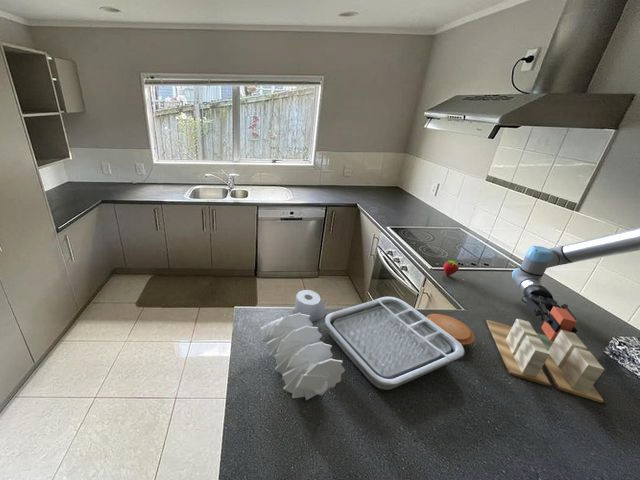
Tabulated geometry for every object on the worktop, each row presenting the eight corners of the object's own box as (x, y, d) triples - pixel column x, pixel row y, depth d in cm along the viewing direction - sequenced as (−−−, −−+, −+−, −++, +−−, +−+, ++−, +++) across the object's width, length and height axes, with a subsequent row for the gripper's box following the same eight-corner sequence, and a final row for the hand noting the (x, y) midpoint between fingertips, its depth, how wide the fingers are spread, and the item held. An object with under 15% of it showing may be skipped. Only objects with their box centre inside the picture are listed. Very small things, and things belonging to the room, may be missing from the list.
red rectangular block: (541, 327, 104) (553, 306, 100) (553, 330, 102) (566, 309, 98) (550, 340, 98) (563, 318, 94) (563, 344, 97) (577, 321, 93)
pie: (477, 357, 96) (483, 346, 94) (427, 344, 100) (430, 333, 98) (464, 327, 109) (468, 317, 107) (419, 316, 114) (423, 306, 112)
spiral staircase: (291, 349, 101) (331, 413, 79) (250, 343, 93) (281, 413, 71) (314, 307, 98) (362, 362, 76) (273, 297, 90) (313, 355, 68)
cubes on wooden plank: (523, 331, 108) (535, 308, 104) (557, 340, 104) (571, 317, 100) (557, 389, 86) (575, 363, 81) (602, 403, 82) (623, 376, 78)
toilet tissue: (330, 315, 113) (333, 298, 109) (303, 325, 107) (305, 307, 104) (316, 302, 120) (318, 285, 117) (290, 310, 114) (291, 293, 111)
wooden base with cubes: (486, 321, 112) (496, 299, 108) (517, 329, 109) (528, 307, 104) (509, 374, 90) (523, 348, 86) (549, 386, 86) (566, 360, 82)
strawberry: (458, 277, 142) (464, 260, 138) (448, 280, 139) (455, 263, 135) (446, 271, 147) (452, 254, 143) (437, 274, 144) (443, 257, 140)
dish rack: (316, 330, 105) (318, 313, 102) (389, 308, 118) (394, 292, 115) (378, 408, 78) (384, 389, 75) (465, 369, 91) (473, 351, 88)
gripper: (558, 306, 112) (593, 348, 92) (507, 294, 118) (530, 331, 99) (567, 290, 109) (605, 330, 89) (514, 279, 115) (539, 314, 96)
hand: (565, 331), depth 94 cm, fingers closed on red rectangular block, 3 cm apart
